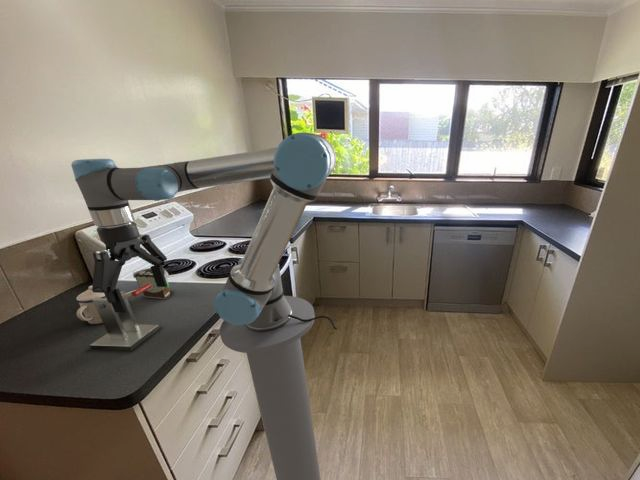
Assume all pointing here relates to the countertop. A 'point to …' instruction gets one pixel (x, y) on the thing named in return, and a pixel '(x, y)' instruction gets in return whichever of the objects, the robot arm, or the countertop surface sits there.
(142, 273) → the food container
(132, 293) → the lever
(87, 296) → the teacup with lid
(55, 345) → the countertop surface
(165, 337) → the countertop surface
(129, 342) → the bracket
